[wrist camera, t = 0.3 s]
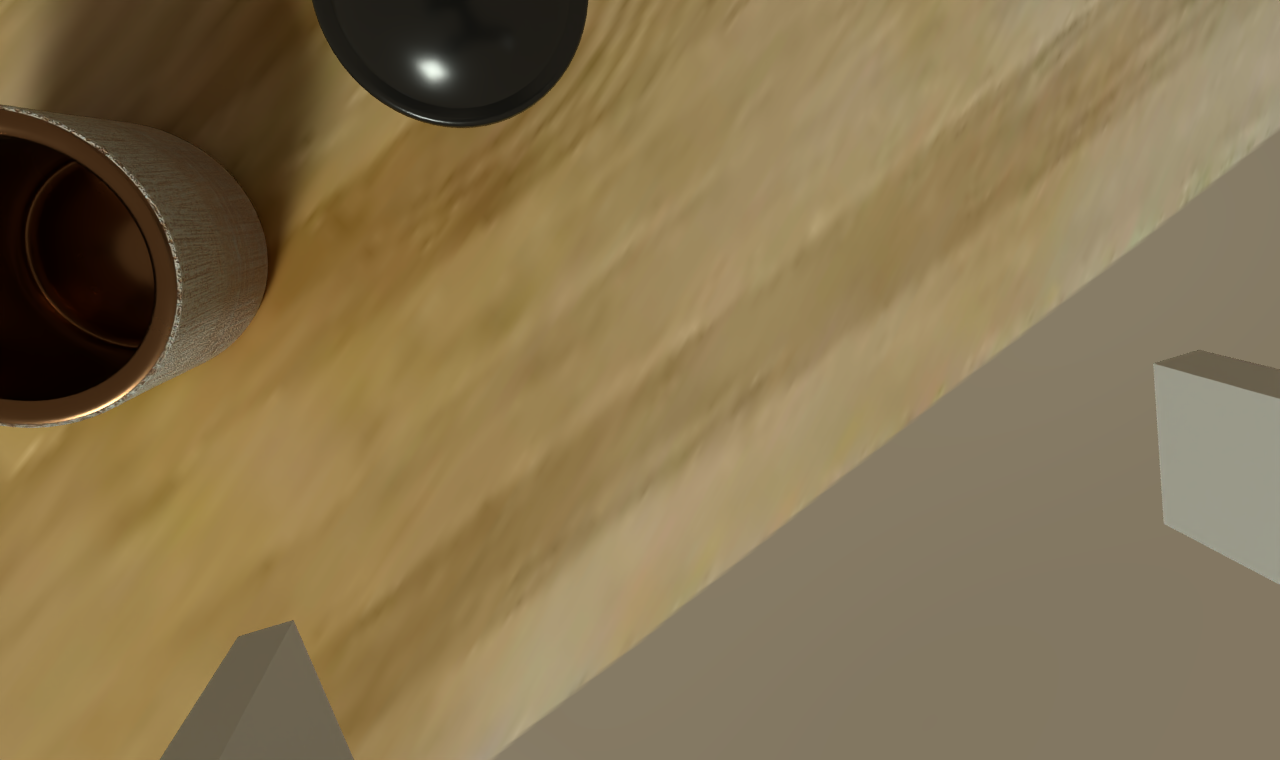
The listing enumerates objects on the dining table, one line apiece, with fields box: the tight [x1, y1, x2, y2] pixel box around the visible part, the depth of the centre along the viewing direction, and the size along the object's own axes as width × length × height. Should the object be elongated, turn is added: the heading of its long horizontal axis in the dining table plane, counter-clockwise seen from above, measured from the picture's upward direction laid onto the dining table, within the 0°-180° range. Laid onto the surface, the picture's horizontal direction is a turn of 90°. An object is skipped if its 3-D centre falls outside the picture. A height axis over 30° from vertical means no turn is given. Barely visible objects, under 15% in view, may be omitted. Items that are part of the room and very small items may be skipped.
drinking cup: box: [312, 0, 588, 128], centre depth 25 cm, size 8×8×20 cm
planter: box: [0, 105, 268, 428], centre depth 30 cm, size 11×11×10 cm
